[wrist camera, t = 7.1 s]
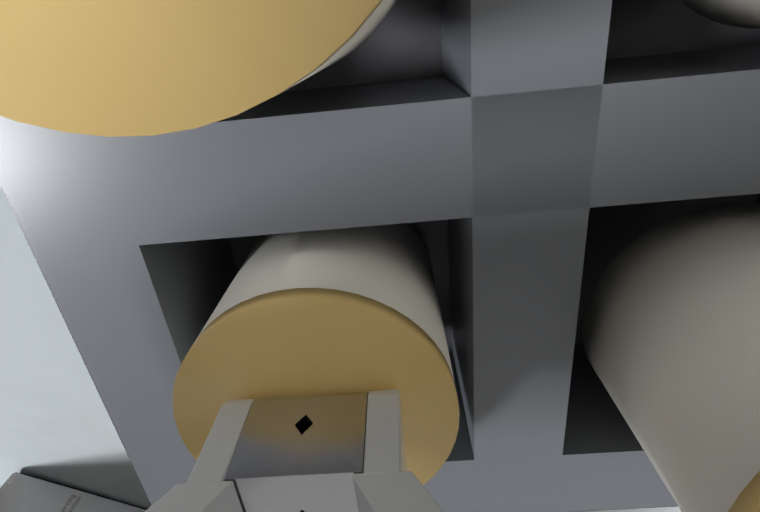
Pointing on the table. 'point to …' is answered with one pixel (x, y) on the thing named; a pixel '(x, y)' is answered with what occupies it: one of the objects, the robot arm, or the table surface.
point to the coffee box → (52, 498)
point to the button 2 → (328, 335)
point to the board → (417, 218)
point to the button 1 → (165, 58)
